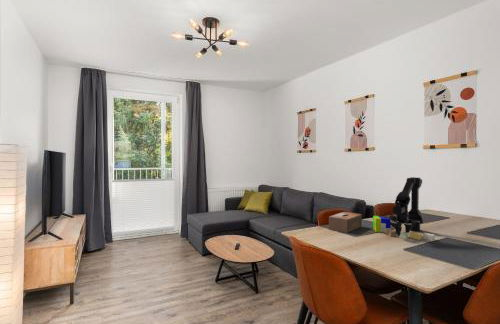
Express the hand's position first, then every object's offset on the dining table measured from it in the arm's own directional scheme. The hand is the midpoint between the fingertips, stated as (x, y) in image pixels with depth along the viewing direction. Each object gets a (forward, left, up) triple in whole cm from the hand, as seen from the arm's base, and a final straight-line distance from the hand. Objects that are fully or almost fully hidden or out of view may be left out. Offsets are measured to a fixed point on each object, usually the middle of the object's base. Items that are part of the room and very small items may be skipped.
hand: (402, 235), depth 197 cm
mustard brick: (-5, +6, -1) cm, 8 cm away
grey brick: (-11, +11, -1) cm, 16 cm away
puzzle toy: (-1, -18, -1) cm, 18 cm away
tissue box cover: (+17, -36, -2) cm, 40 cm away
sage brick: (0, 0, -1) cm, 1 cm away
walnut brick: (+4, -7, -1) cm, 8 cm away
